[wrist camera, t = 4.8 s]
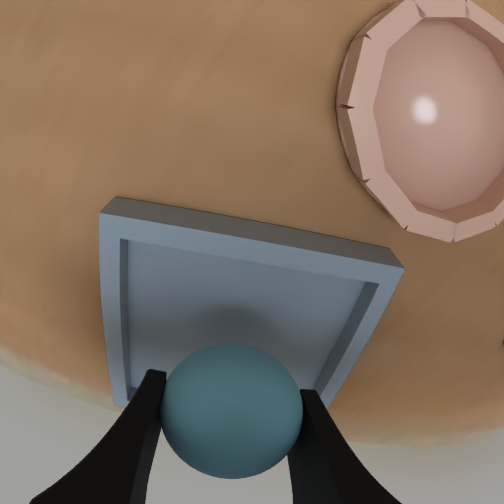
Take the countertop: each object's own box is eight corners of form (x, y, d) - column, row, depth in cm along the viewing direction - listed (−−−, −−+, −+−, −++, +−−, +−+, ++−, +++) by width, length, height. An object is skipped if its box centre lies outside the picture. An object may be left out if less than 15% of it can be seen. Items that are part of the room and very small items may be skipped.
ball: (312, 327, 12) (341, 443, 7) (271, 403, 14) (280, 498, 10) (178, 301, 11) (151, 423, 7) (165, 385, 13) (148, 484, 9)
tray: (389, 248, 13) (405, 268, 11) (308, 409, 18) (311, 430, 16) (115, 196, 11) (99, 212, 10) (121, 383, 16) (114, 405, 15)
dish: (532, 68, 8) (556, 72, 7) (481, 242, 13) (500, 258, 11) (363, -35, 7) (380, -50, 6) (306, 194, 12) (315, 210, 10)
